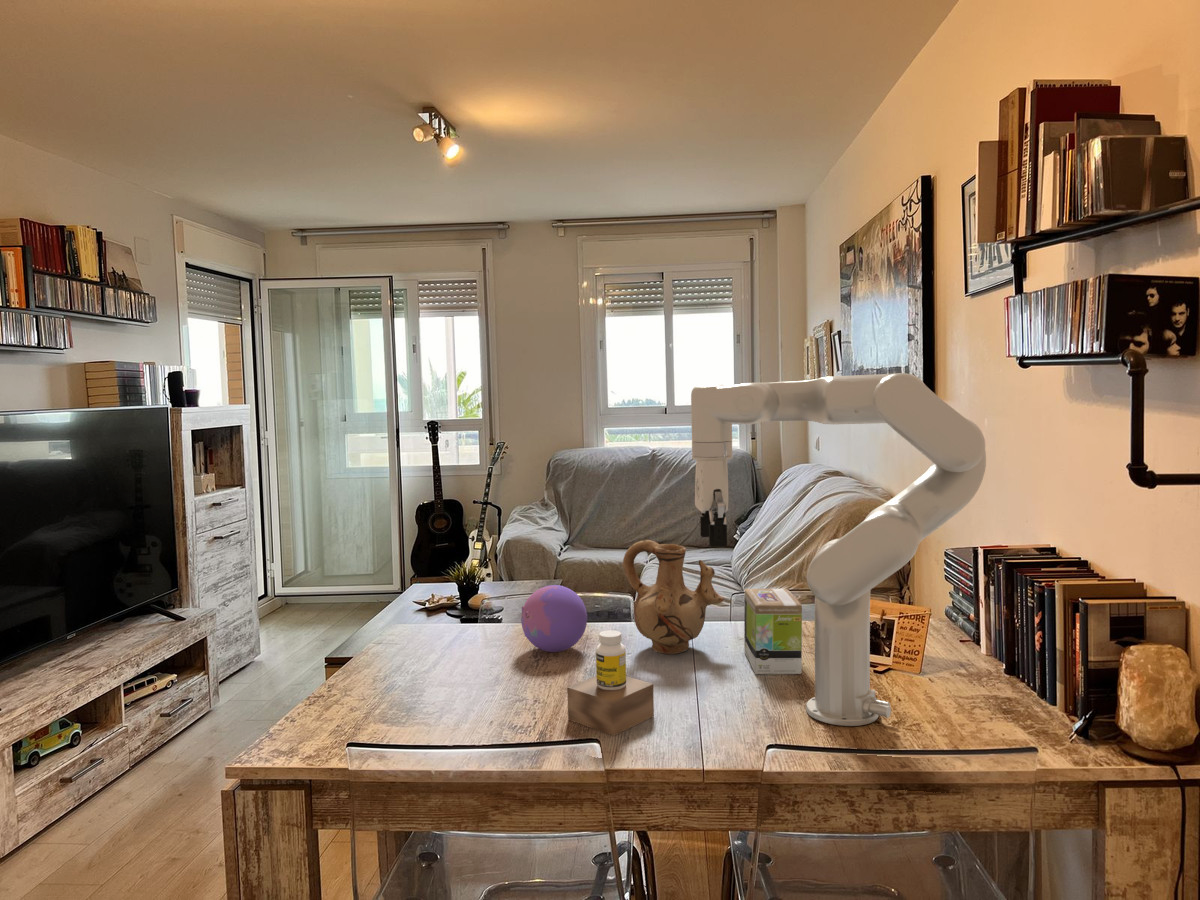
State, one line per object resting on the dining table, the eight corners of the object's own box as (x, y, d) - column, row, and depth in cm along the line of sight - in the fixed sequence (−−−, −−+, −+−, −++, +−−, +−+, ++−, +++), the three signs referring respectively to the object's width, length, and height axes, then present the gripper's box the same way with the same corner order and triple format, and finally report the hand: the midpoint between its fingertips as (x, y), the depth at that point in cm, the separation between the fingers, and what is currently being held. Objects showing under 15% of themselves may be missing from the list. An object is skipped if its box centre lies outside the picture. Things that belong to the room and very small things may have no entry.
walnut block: (653, 716, 151) (653, 683, 151) (613, 735, 143) (612, 701, 143) (608, 701, 159) (608, 671, 158) (568, 719, 151) (567, 687, 150)
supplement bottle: (591, 688, 149) (589, 635, 149) (605, 678, 154) (604, 627, 153) (617, 693, 147) (616, 639, 146) (631, 683, 151) (630, 631, 151)
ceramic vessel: (664, 667, 177) (662, 551, 175) (610, 646, 193) (608, 539, 191) (725, 650, 188) (725, 540, 186) (670, 631, 203) (669, 530, 201)
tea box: (803, 675, 171) (803, 604, 170) (754, 675, 171) (753, 605, 170) (788, 651, 186) (788, 586, 185) (743, 652, 186) (742, 587, 185)
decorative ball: (513, 646, 194) (511, 583, 193) (572, 637, 201) (570, 575, 200) (535, 665, 181) (533, 597, 180) (598, 654, 187) (596, 588, 186)
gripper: (685, 448, 164) (686, 534, 166) (699, 455, 147) (701, 550, 149) (723, 447, 165) (724, 532, 166) (741, 454, 148) (742, 549, 149)
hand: (713, 541), depth 157 cm, fingers open, 9 cm apart
